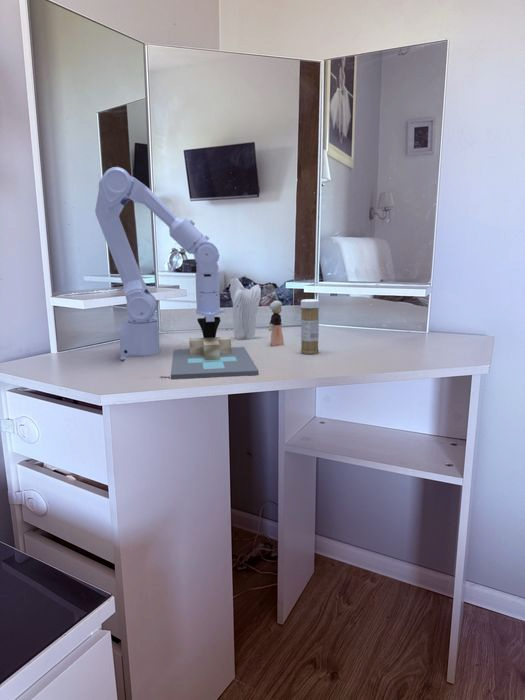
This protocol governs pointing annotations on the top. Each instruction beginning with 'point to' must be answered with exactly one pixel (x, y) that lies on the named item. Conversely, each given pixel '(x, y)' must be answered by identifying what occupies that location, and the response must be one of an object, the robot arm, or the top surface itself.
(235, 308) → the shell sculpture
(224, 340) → the maple T block
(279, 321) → the grandmother figurine
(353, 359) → the top surface
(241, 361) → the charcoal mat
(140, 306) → the robot arm
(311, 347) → the sprinkles bottle
